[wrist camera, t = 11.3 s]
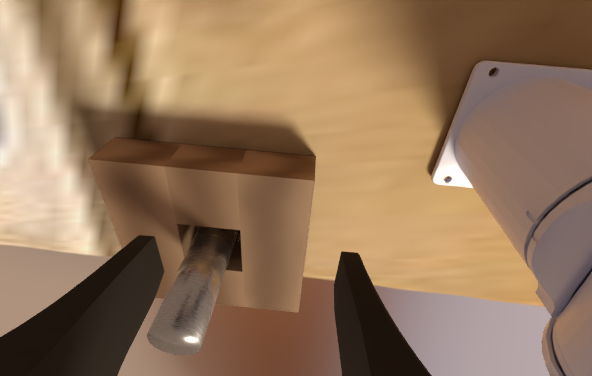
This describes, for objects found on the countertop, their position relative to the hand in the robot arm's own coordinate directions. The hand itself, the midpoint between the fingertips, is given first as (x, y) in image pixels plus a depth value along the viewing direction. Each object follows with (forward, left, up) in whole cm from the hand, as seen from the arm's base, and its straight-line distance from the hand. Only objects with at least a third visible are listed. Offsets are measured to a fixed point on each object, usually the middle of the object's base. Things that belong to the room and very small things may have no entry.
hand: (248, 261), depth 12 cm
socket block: (+4, +8, -10) cm, 14 cm away
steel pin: (+4, +8, -10) cm, 14 cm away
